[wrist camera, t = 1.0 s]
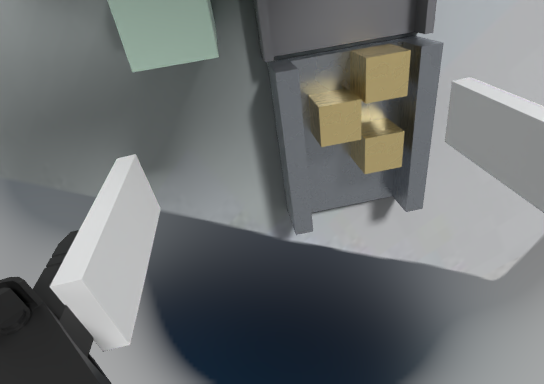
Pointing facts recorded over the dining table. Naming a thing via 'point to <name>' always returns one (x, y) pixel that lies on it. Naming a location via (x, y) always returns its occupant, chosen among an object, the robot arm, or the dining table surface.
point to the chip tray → (336, 22)
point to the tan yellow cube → (378, 146)
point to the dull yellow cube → (379, 72)
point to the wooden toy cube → (335, 117)
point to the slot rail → (337, 158)
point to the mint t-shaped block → (165, 31)
